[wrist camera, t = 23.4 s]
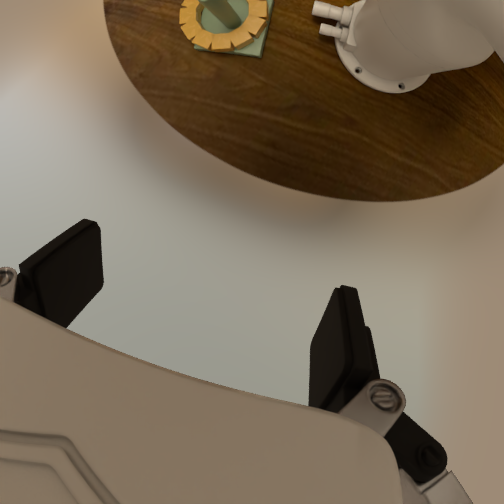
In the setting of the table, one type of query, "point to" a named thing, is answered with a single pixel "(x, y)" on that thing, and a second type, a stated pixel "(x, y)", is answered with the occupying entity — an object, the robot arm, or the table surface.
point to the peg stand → (231, 23)
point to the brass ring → (223, 41)
